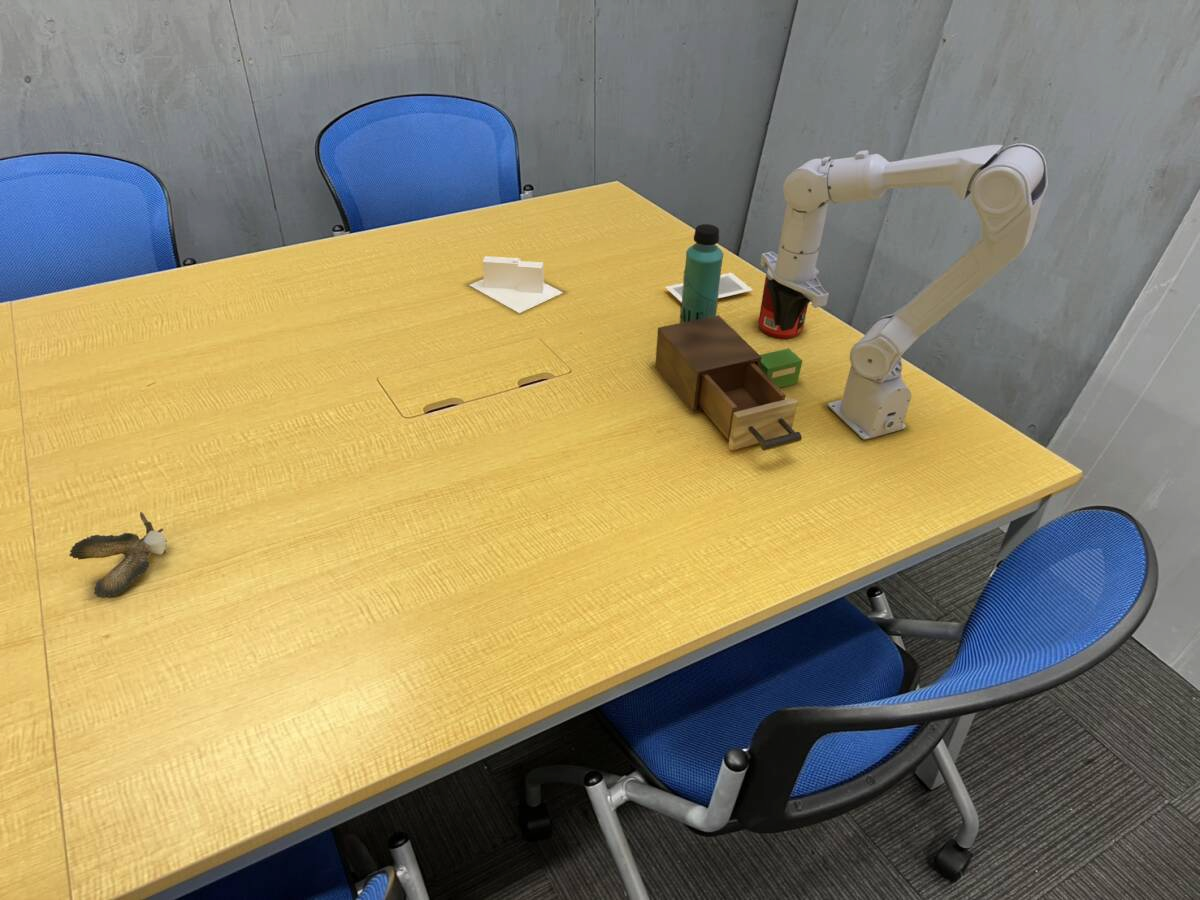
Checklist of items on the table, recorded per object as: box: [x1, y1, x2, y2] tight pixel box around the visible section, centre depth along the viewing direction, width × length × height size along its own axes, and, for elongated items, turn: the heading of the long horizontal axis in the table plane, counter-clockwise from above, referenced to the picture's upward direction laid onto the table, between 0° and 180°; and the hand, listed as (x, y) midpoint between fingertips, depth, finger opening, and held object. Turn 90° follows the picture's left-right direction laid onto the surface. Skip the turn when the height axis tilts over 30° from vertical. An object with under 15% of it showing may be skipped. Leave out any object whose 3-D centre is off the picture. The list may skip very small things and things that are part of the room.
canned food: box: [758, 267, 809, 339], centre depth 142 cm, size 8×8×11 cm
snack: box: [759, 348, 803, 389], centre depth 131 cm, size 4×6×4 cm, turn 113°
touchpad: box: [664, 272, 754, 303], centre depth 154 cm, size 8×15×2 cm, turn 115°
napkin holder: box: [468, 255, 564, 314], centre depth 153 cm, size 15×11×6 cm
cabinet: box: [654, 314, 762, 413], centre depth 130 cm, size 14×11×8 cm
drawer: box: [697, 362, 803, 452], centre depth 120 cm, size 18×10×6 cm, turn 22°
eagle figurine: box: [68, 511, 168, 598], centre depth 97 cm, size 8×7×9 cm
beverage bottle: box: [678, 223, 724, 323], centre depth 137 cm, size 6×7×20 cm
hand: (783, 326), depth 126 cm, fingers closed
